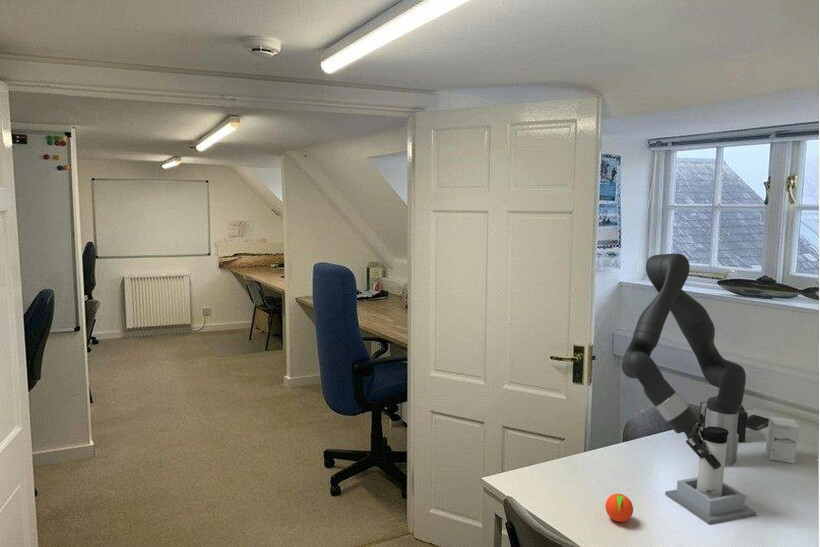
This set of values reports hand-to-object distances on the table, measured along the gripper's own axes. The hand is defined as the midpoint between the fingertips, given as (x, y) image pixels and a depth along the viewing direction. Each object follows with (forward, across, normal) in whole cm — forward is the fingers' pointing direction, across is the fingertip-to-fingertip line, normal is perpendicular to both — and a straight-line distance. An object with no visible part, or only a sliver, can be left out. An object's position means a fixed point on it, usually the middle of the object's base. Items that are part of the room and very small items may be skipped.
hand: (719, 462), depth 163 cm
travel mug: (+6, 0, +9) cm, 11 cm away
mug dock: (+8, 0, +10) cm, 13 cm away
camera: (+7, +57, +12) cm, 58 cm away
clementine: (-5, -23, +24) cm, 34 cm away
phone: (+14, +78, +5) cm, 79 cm away
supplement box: (+20, +48, -2) cm, 52 cm away
